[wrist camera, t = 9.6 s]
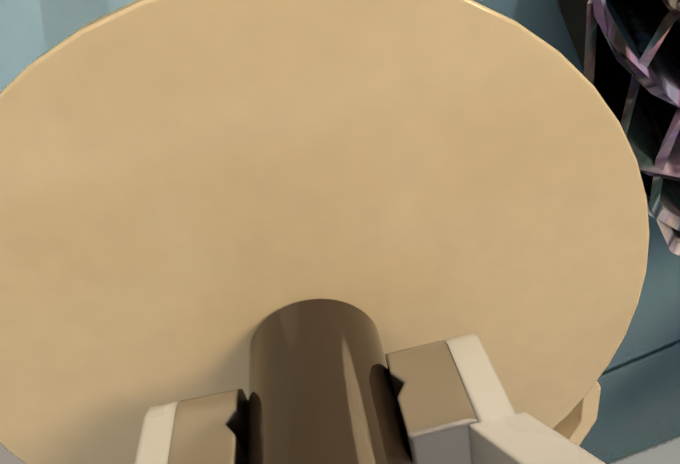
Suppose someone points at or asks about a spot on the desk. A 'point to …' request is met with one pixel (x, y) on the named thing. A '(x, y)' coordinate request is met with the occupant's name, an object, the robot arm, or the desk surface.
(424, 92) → the pot lid
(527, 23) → the desk surface
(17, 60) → the desk surface
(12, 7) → the desk surface
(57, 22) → the desk surface
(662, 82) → the decorative bowl
